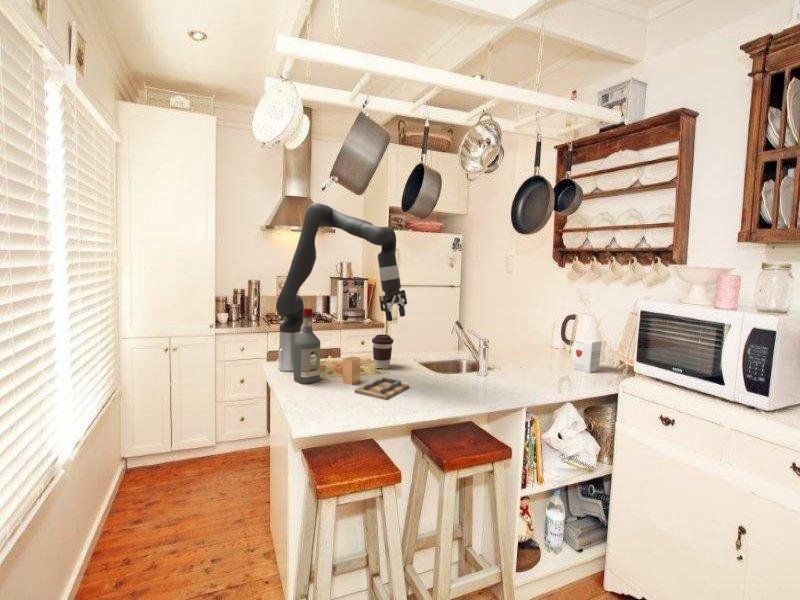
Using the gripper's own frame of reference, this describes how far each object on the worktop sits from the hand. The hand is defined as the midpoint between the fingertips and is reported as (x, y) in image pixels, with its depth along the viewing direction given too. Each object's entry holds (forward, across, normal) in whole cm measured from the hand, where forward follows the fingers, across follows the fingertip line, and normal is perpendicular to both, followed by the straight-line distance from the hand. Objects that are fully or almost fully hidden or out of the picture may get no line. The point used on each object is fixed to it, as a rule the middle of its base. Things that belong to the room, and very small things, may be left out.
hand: (396, 318), depth 175 cm
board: (+27, +8, -6) cm, 29 cm away
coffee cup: (+26, -17, -27) cm, 41 cm away
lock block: (+24, +9, -21) cm, 34 cm away
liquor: (+21, +20, -36) cm, 46 cm away
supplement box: (+45, -83, +46) cm, 106 cm away
